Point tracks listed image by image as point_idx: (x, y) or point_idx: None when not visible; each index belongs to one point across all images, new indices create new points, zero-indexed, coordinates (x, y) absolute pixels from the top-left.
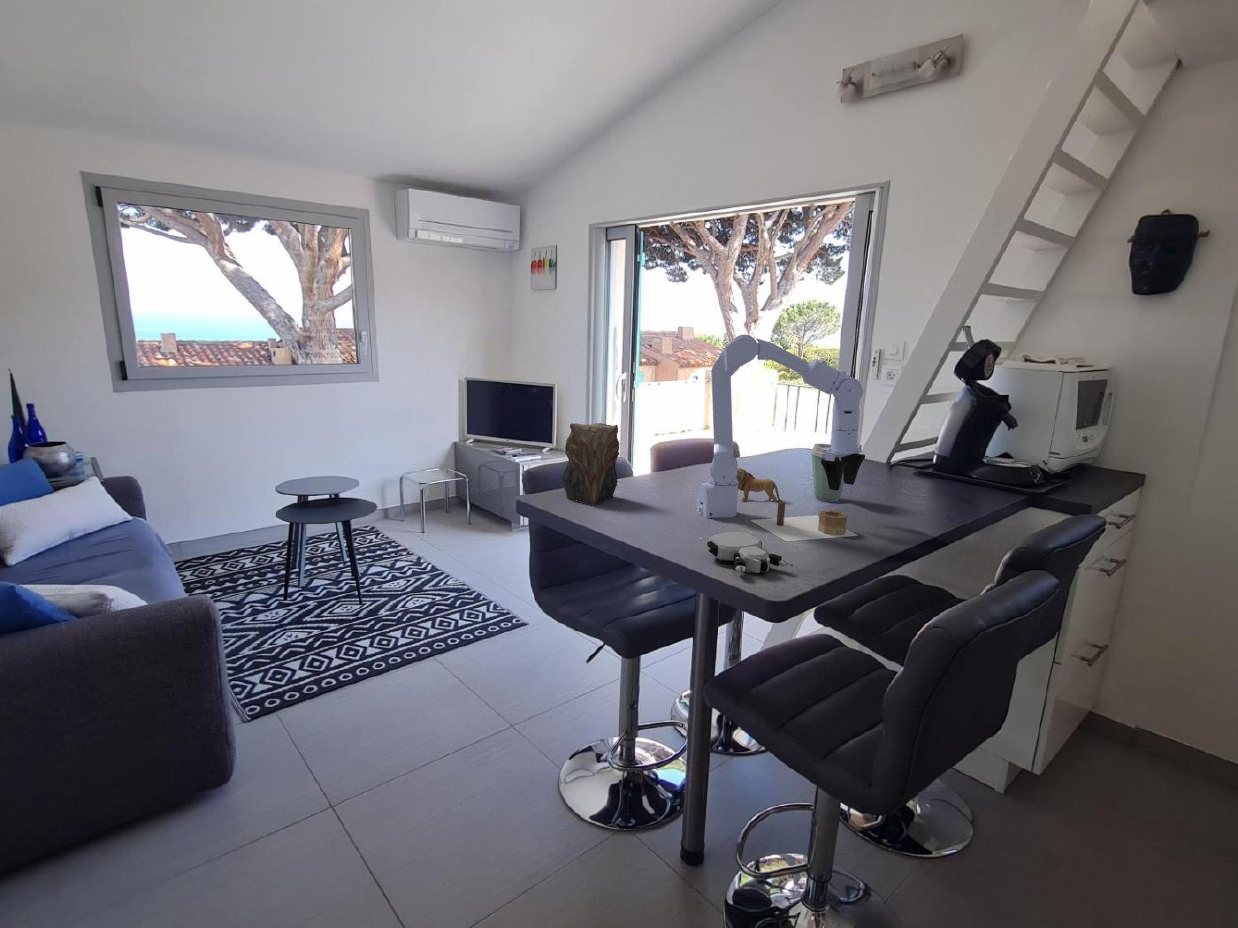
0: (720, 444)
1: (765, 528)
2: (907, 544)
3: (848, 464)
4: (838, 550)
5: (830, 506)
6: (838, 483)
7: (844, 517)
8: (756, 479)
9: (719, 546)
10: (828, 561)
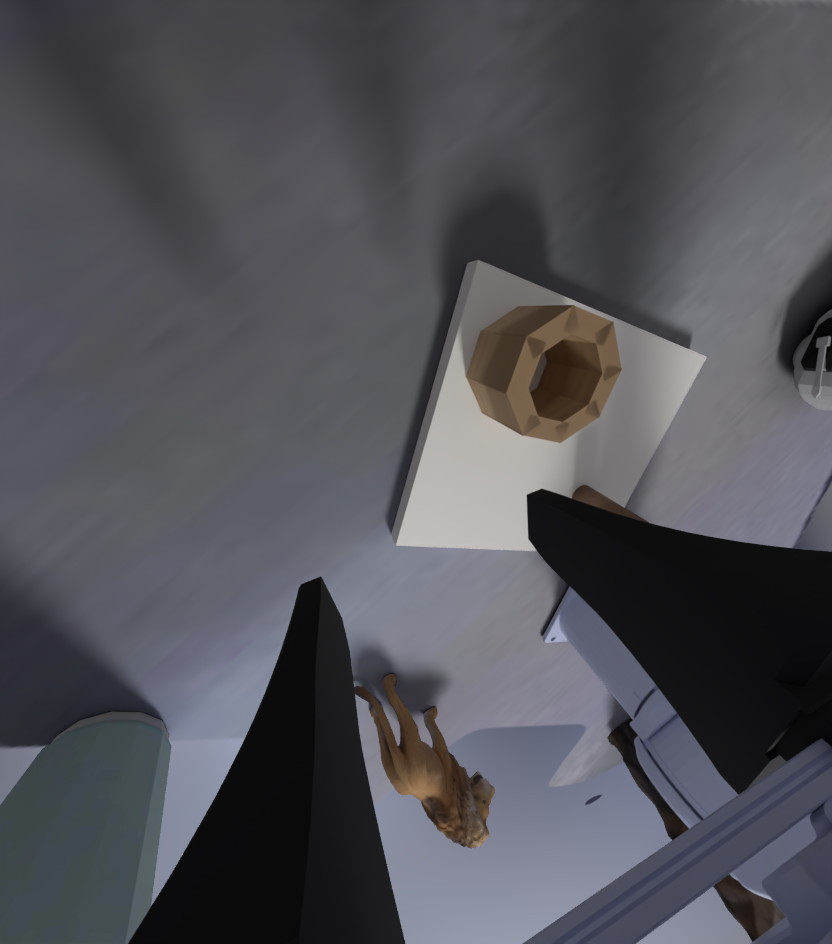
0: None
1: (638, 479)
2: (282, 12)
3: (355, 796)
4: (626, 222)
5: (182, 662)
6: (589, 506)
7: (578, 307)
8: (432, 791)
9: None
10: (745, 156)
